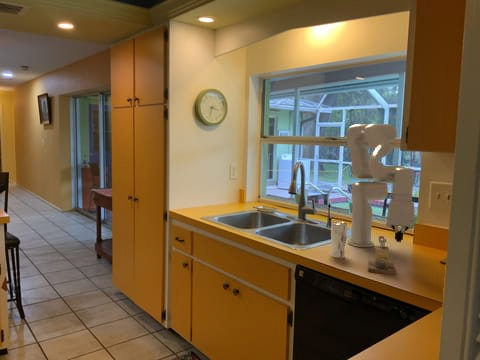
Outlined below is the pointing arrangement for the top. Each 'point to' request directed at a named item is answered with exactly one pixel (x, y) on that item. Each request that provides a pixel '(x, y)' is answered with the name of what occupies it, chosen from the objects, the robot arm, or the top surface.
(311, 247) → the top surface
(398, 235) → the robot arm
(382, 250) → the valve
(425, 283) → the top surface
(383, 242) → the valve lever
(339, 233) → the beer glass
